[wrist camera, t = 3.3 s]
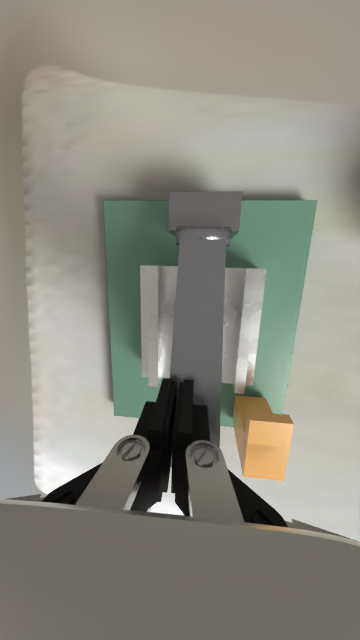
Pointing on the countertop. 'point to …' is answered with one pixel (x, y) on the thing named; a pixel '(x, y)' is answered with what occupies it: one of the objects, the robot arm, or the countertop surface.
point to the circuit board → (244, 252)
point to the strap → (200, 316)
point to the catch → (261, 438)
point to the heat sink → (238, 295)
